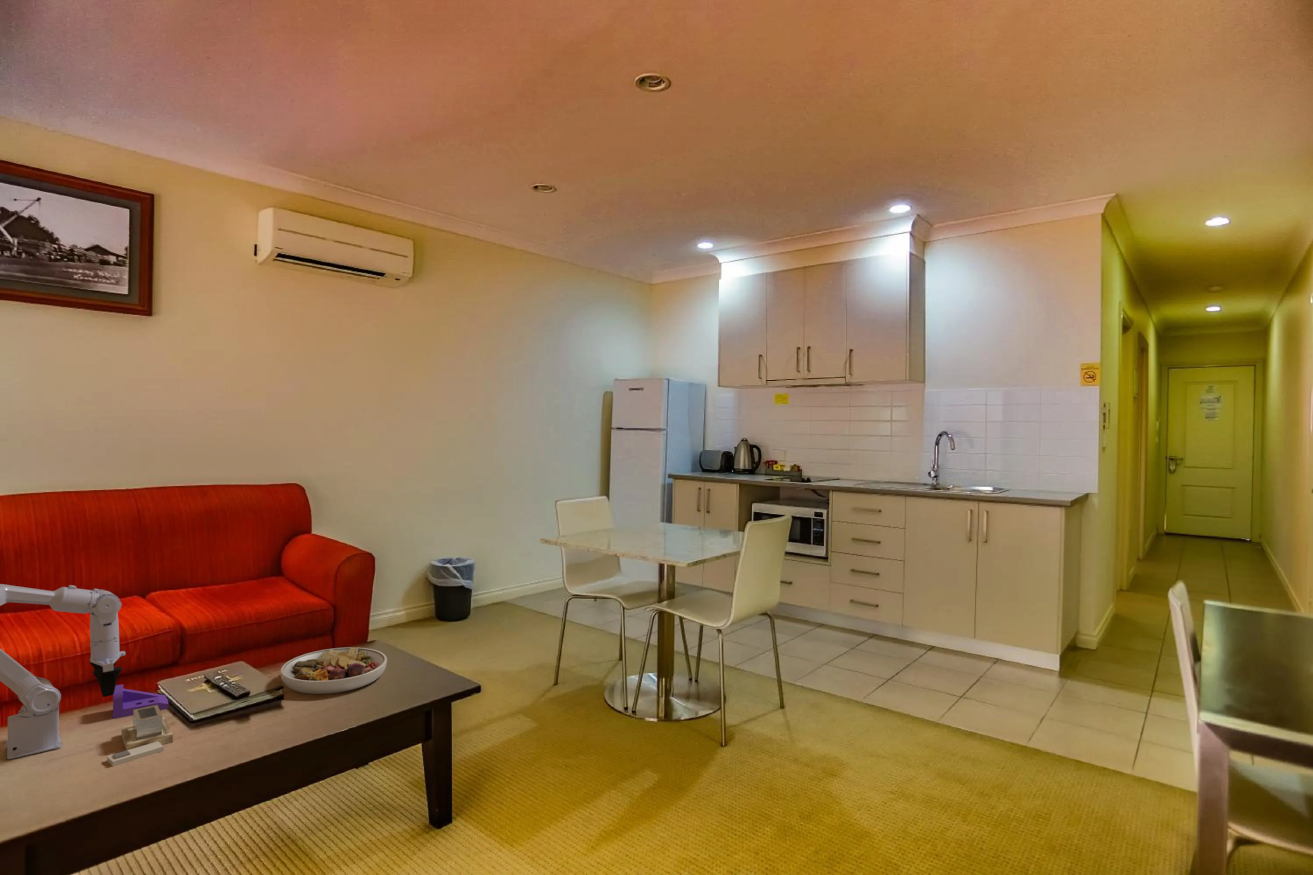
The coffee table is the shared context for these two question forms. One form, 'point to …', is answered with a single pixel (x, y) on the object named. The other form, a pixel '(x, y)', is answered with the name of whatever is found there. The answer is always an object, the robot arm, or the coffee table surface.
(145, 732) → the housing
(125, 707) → the bracket
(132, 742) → the beige shallow tray
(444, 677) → the coffee table surface
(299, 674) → the bowl
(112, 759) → the block
